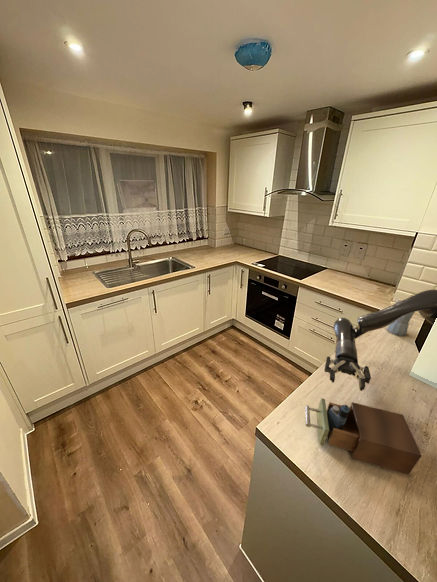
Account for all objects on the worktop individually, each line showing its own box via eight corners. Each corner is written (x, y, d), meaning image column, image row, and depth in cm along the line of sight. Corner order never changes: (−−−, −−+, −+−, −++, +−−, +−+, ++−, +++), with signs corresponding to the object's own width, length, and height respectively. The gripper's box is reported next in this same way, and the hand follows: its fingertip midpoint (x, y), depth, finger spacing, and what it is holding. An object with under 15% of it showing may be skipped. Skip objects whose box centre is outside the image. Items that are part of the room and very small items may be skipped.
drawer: (303, 439, 73) (308, 424, 70) (302, 409, 83) (306, 394, 80) (368, 458, 68) (376, 443, 65) (359, 423, 78) (365, 409, 75)
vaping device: (336, 437, 73) (346, 411, 68) (323, 422, 77) (332, 397, 72) (342, 434, 74) (353, 408, 69) (329, 419, 78) (338, 394, 73)
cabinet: (352, 458, 69) (361, 438, 65) (344, 420, 80) (351, 402, 76) (408, 475, 66) (422, 455, 62) (392, 433, 77) (402, 414, 73)
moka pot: (378, 329, 132) (391, 297, 123) (397, 324, 137) (410, 293, 129) (395, 338, 124) (410, 306, 115) (414, 333, 129) (429, 301, 121)
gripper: (328, 341, 92) (326, 370, 79) (369, 350, 87) (375, 383, 74) (324, 355, 96) (322, 385, 83) (364, 365, 90) (368, 399, 77)
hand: (347, 384), depth 78 cm, fingers open, 8 cm apart
